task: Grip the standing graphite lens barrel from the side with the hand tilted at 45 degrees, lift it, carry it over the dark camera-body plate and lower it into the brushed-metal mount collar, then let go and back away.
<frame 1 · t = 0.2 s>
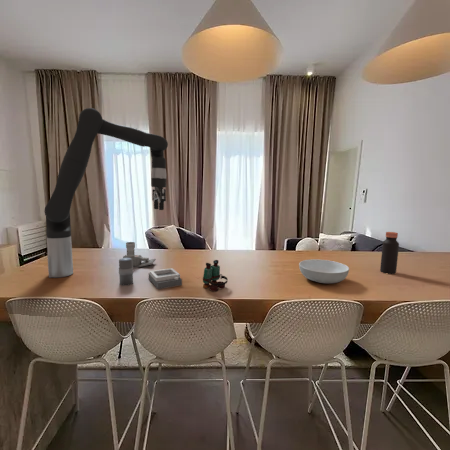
hand: (158, 209, 139), 28 cm above the table, tool pointing down, fingers open, 8 cm apart
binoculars: (215, 288, 108), on the table
serving bowl: (322, 280, 120), on the table
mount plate: (164, 281, 114), on the table
lens: (126, 283, 111), on the table
bottle: (387, 272, 134), on the table
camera: (139, 265, 138), on the table
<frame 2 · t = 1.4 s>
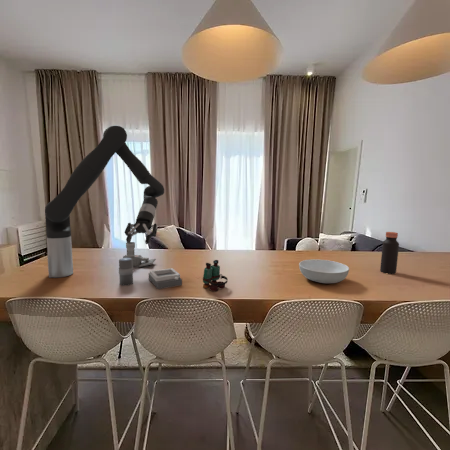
hand: (137, 242, 121), 15 cm above the table, tool tilted 45°, fingers open, 8 cm apart
nothing on the table moved.
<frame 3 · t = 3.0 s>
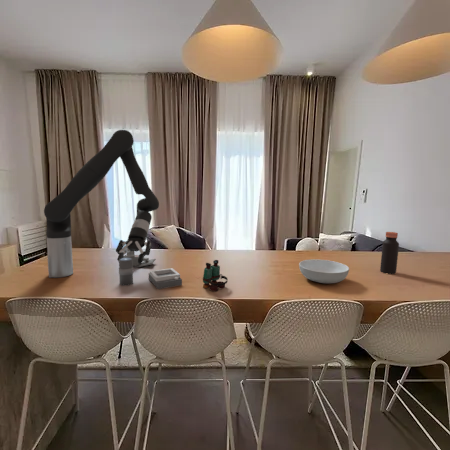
hand: (129, 262, 113), 8 cm above the table, tool tilted 45°, fingers open, 8 cm apart
nothing on the table moved.
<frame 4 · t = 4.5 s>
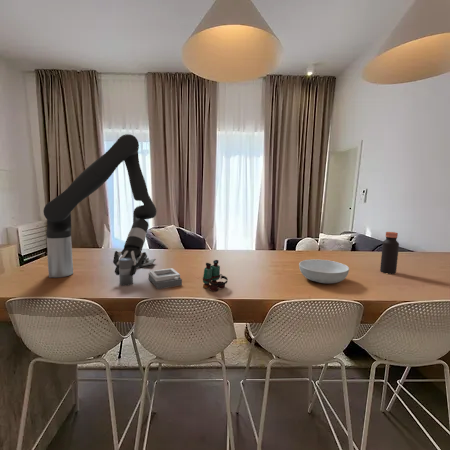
hand: (124, 274, 109), 4 cm above the table, tool tilted 45°, fingers closed on lens, 5 cm apart
lens: (126, 283, 111), on the table, touching gripper
everything else where it was.
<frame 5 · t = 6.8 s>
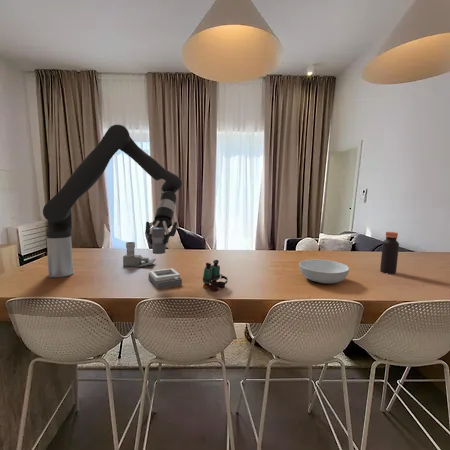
hand: (157, 243, 110), 17 cm above the table, tool tilted 45°, fingers closed on lens, 5 cm apart
lens: (159, 252, 112), point 13 cm above the table, touching gripper
everything else where it was.
when the fingers open (8 cm above the table, at t = 9.1 s): lens drops 1 cm, resting on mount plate.
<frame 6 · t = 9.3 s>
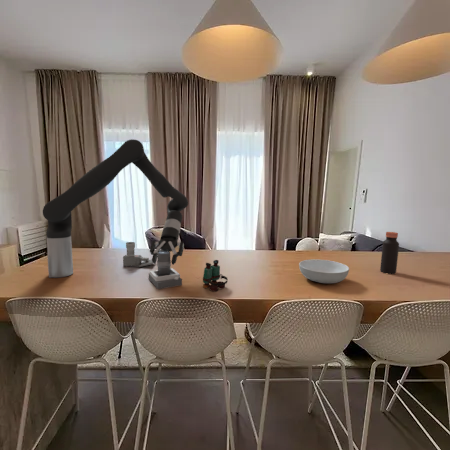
hand: (163, 263, 111), 9 cm above the table, tool tilted 45°, fingers open, 7 cm apart
lens: (164, 276, 114), point 3 cm above the table, touching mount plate
everything else where it was.
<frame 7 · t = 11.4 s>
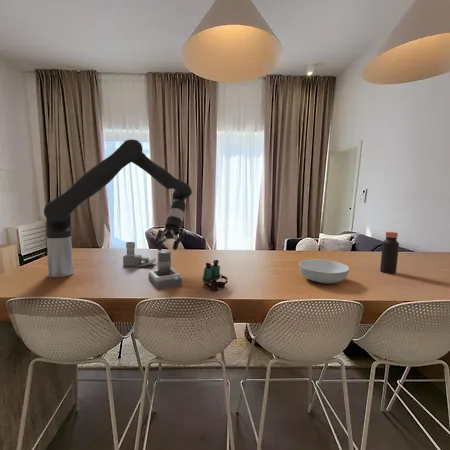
hand: (166, 249, 123), 11 cm above the table, tool tilted 40°, fingers open, 8 cm apart
nothing on the table moved.
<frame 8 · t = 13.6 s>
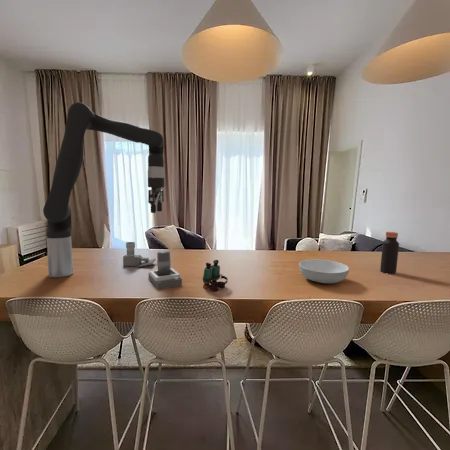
hand: (156, 212, 127), 28 cm above the table, tool pointing down, fingers open, 8 cm apart
nothing on the table moved.
at the end: lens 0.2 cm off-centre on the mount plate, point 2.6 cm above the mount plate's base; lens tilted 2°; the gripper is holding nothing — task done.
